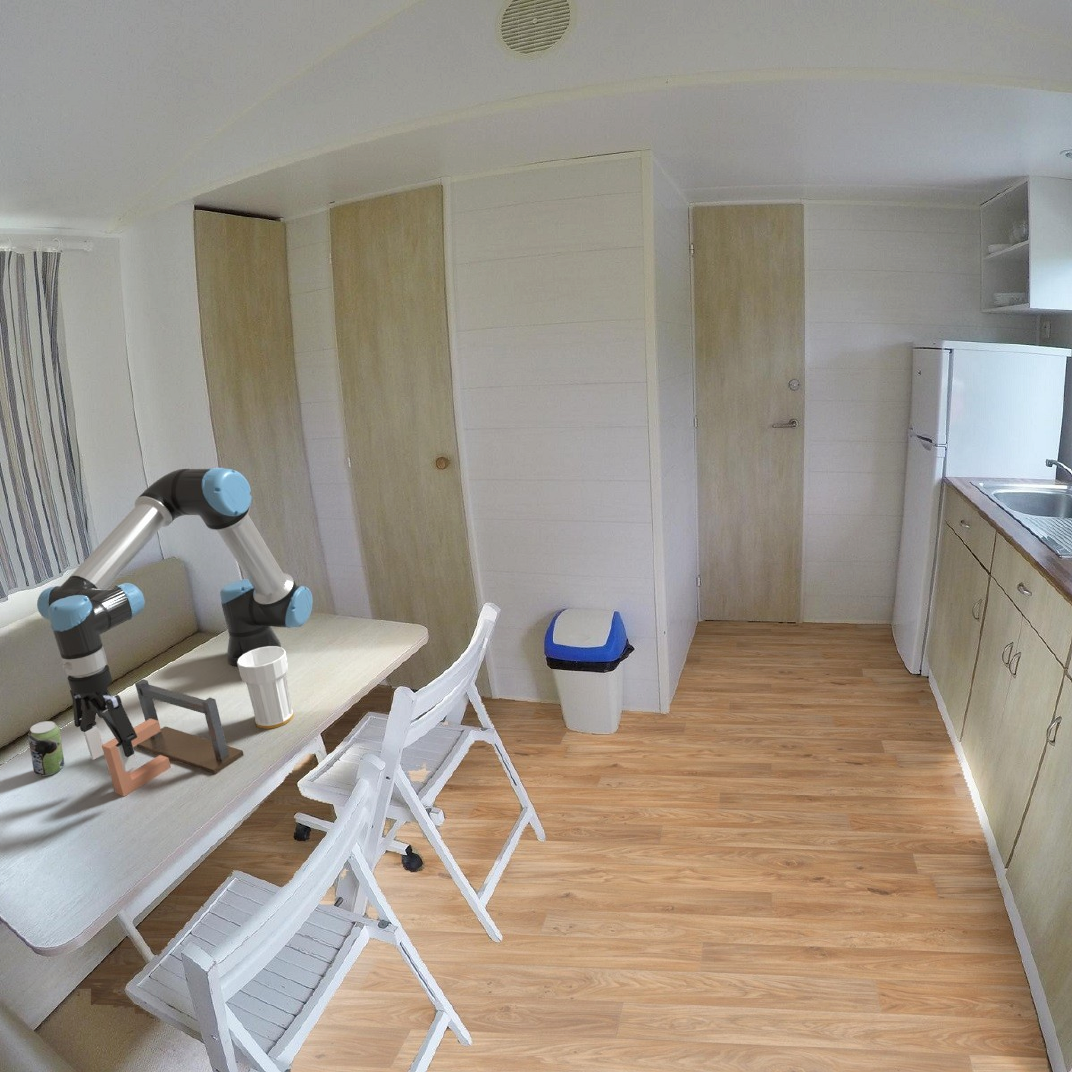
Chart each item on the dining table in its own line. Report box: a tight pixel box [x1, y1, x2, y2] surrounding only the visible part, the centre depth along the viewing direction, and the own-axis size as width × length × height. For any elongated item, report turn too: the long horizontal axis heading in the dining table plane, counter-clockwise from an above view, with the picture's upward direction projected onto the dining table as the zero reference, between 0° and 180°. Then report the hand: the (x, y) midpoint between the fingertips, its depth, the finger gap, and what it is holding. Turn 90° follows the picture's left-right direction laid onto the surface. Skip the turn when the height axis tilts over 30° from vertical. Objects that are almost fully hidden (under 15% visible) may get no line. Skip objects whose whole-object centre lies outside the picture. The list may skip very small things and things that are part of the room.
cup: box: [237, 646, 294, 730], centre depth 189 cm, size 11×11×17 cm
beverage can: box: [27, 720, 65, 777], centre depth 176 cm, size 6×7×12 cm
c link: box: [102, 719, 172, 797], centre depth 169 cm, size 3×12×12 cm, turn 150°
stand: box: [134, 678, 244, 775], centre depth 178 cm, size 28×8×16 cm, turn 61°
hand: (114, 761), depth 165 cm, fingers open, 11 cm apart
